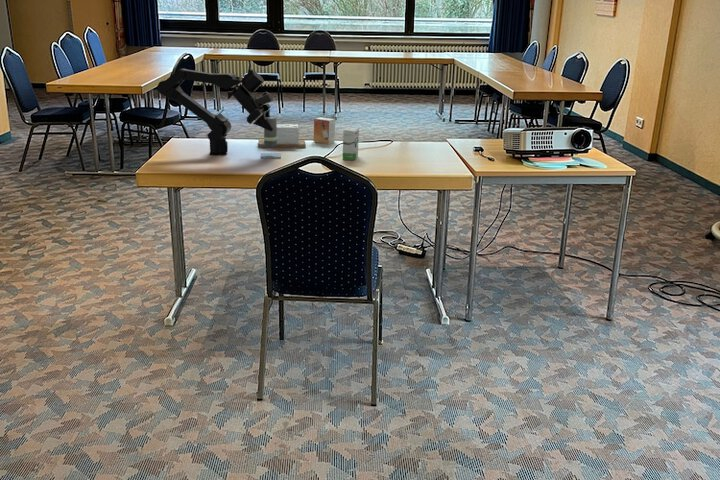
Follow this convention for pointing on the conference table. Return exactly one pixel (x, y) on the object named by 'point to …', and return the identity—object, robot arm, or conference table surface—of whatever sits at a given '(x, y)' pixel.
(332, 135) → the small box
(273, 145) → the cartridge
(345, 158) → the ink box
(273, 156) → the slate mat
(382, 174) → the conference table surface
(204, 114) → the robot arm
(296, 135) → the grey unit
